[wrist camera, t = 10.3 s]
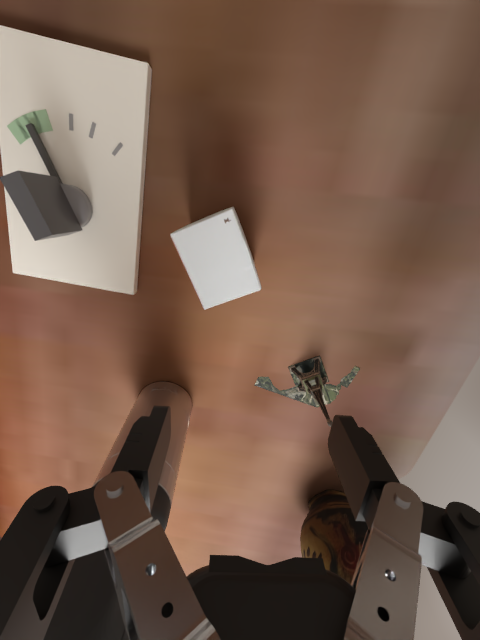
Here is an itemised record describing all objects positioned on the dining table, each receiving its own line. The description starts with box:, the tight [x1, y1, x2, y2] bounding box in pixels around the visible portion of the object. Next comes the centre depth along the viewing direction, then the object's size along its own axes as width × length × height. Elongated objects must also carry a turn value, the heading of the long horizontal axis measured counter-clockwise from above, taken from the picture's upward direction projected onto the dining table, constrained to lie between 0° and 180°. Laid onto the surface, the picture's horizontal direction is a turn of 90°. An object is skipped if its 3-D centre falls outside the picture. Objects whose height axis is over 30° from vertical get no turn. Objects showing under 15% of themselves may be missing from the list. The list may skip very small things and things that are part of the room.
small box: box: [170, 207, 261, 309], centre depth 32 cm, size 8×6×13 cm
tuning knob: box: [0, 123, 92, 241], centre depth 30 cm, size 12×5×8 cm, turn 17°
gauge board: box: [0, 25, 152, 295], centre depth 34 cm, size 26×16×2 cm, turn 169°
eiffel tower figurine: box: [255, 356, 360, 427], centre depth 41 cm, size 15×10×13 cm
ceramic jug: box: [300, 490, 368, 585], centre depth 45 cm, size 17×15×30 cm
